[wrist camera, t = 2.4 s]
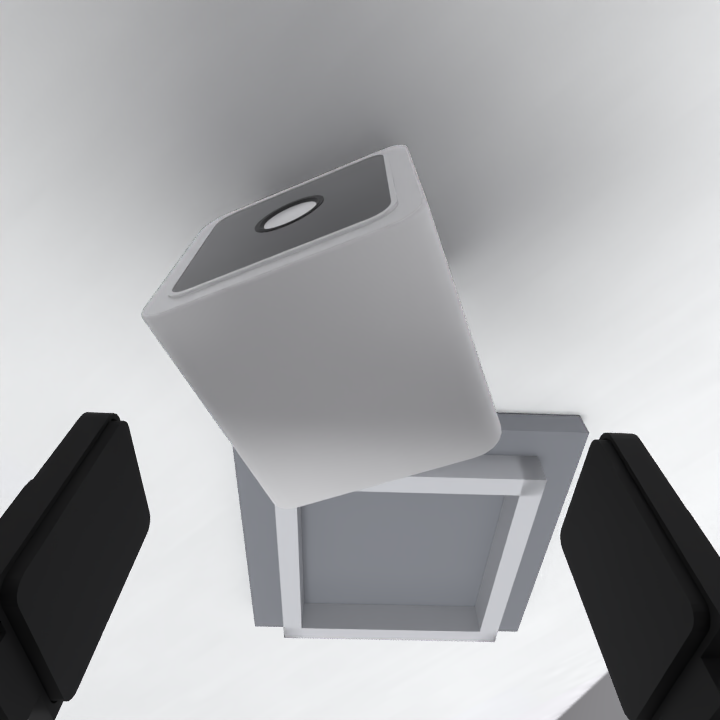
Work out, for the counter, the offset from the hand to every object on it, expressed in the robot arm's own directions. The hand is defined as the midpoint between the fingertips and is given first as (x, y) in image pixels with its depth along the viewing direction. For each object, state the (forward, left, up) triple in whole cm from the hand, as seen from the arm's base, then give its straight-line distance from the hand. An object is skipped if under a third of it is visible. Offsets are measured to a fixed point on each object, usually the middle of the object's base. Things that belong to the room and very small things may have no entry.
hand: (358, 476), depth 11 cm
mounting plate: (+15, +3, -11) cm, 19 cm away
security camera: (-1, 0, -12) cm, 12 cm away
